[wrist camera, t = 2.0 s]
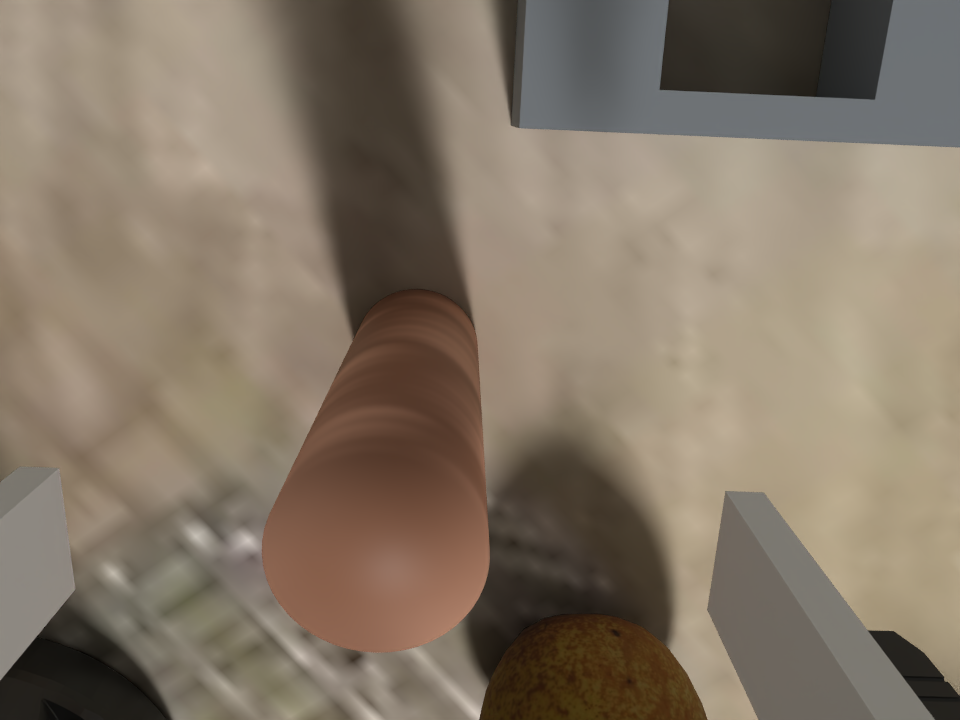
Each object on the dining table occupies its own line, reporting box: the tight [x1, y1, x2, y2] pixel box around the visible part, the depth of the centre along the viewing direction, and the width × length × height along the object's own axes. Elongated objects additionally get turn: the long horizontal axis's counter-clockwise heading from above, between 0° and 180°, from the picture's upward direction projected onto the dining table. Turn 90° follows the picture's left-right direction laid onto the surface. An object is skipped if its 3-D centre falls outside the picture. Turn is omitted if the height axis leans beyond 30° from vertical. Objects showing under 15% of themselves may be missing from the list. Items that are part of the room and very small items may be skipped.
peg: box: [262, 289, 490, 652], centre depth 22 cm, size 4×4×14 cm
